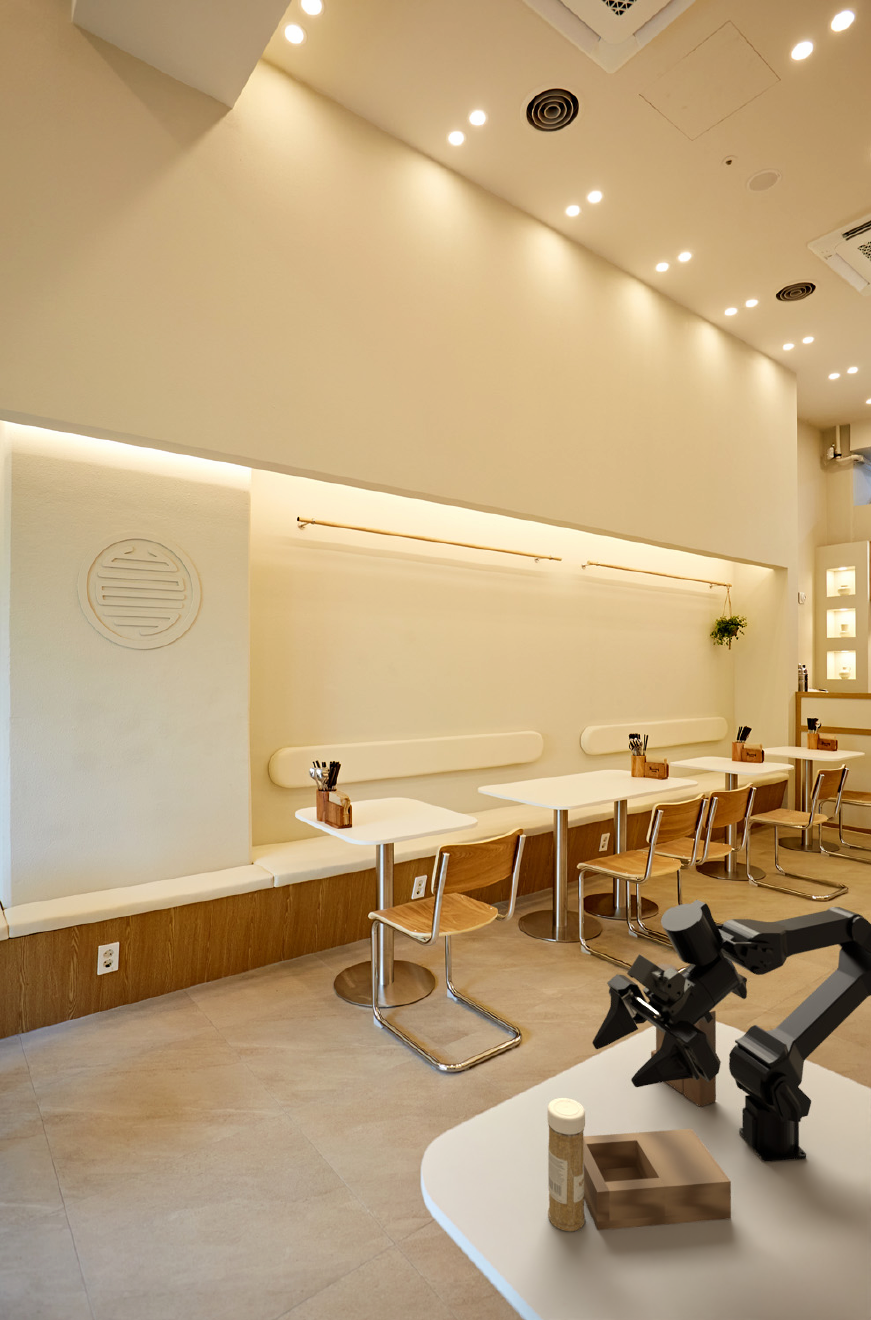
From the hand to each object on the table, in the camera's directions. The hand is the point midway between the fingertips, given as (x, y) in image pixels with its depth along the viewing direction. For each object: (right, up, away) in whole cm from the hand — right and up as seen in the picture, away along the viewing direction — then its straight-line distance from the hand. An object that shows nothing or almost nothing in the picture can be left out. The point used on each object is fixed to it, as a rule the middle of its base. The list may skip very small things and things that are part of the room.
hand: (612, 1064), depth 91 cm
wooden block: (+17, -17, +22) cm, 32 cm away
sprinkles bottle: (-7, -16, -6) cm, 18 cm away
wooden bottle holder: (+4, -16, -2) cm, 16 cm away
